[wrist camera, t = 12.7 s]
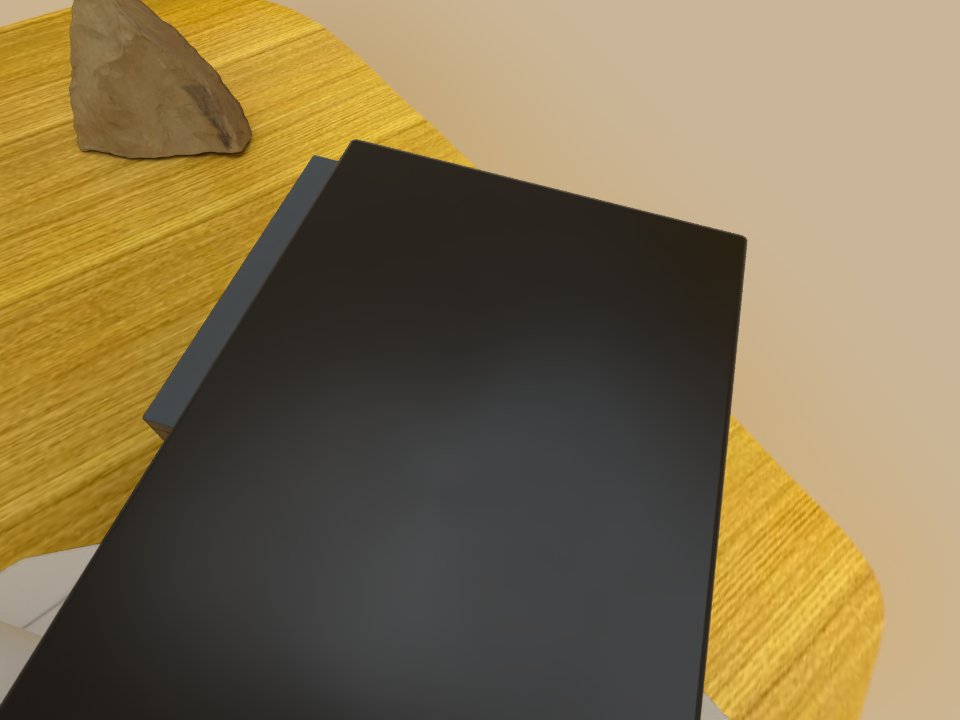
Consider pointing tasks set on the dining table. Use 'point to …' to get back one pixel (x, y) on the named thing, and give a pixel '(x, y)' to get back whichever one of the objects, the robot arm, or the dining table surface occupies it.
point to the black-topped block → (429, 474)
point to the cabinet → (236, 299)
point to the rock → (146, 87)
